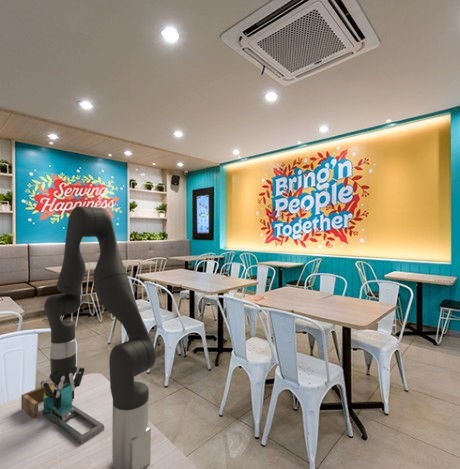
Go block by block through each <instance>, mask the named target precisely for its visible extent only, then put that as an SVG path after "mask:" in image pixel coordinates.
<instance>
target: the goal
mask: <svg viewBox="0 0 460 469" xmlns="http://www.w3.org/2000/svg"><path fill="white" fill-rule="evenodd" d="M53 384H54V383H53V382H52V381H51V385H53ZM49 387H50V386H49ZM43 396H44V390H43V388H42V386H40V387H38V388H35V389H33V390H32V389H31V391H27V392H25V393H23V394H21V397H20V398H21V400H20V401H21V407H20V408H21V410H22V412H24V413H26V414H27V415H28V416H30V417H31V418H32V419H33V420H36V419H38V418H39V404H40V403H42V402H43ZM43 403H44V402H43Z"/></svg>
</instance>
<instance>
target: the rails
mask: <svg viewBox="0 0 460 469" xmlns="http://www.w3.org/2000/svg"><path fill="white" fill-rule="evenodd" d="M72 408H74V409H75V417H77V418H79V419H80V420H82V421H83V422H85V423H86V424H88V425H89V426H91V427H92V428H91V429H89V430H88V431H86V432H85V433H83V434H82V433H81V432H80V431H78V430H77V429H76V428H73V427H72V425H69V424H68V423H67V422H65V421H62V420H61V419H60V418H58V417H57V416H55V415H54V414H53V413H52V411H48V412H46V413H44V409H43V410H42V411H41V412H42V413H41V415H42V416H43V417H44V418H45V419H47V420H49V422H51V423H52V424H53V425H55V426H56V427H58V428H59V429H60V430H62V431H63V432H64V433H66V434H67V435H69V437H71V438H72V439H74V440H75V441H76V442H78V443H79V444H80V445H82V444H84V443H86V442H87V441H89V440H91V439H92V438H93V437H95V436H97V435H98V434H100V433H101V432H103V431H104V430H105V424H103V423H102V422H101V421H98V420H97V419H95V418H94V417H92V416H90V415H89V414H88V413H86V412H84V411H83V410H81V409H79V408H78V407H76V406H75V405H74V404H72Z"/></svg>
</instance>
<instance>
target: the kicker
mask: <svg viewBox="0 0 460 469" xmlns="http://www.w3.org/2000/svg"><path fill="white" fill-rule="evenodd" d="M59 397H60V408H58V409H57V408H56V407H54V406H53V398H52V399H51V398H49V397H47V396H45V397H44V402H43V410H44V413H46V412H48V411H50V412H51V413H53V414H54V415H55V416H57V417H58V418H60V419H61V420H62V421H64V422H65V421H67V420H69V419H71V418H73V417H76V415H75V409H74V408H72V405H73V401H72V385H70V384H68V383H65V384H64V385H63V386H62V389H61V390H60V396H59Z"/></svg>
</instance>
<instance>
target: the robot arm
mask: <svg viewBox="0 0 460 469" xmlns="http://www.w3.org/2000/svg"><path fill="white" fill-rule="evenodd" d="M83 238H96V239H97V241H98V245H99V257H98V260H97V262H96V265H95V268H94V272H93V277H92V281H93V284H94V285H93V286H94V288H95V292H96V295H97V298H98V301H99V303H100V304H101V305H102V306H103V307H104V309H105V310H106V311H107V312H108V313H110V314H111V315H112V316H113V317H115V318H116V319H117V320H118V321H119V323H120V324H121V325H122V326H123V328H124V331H125V332H126V335H127V338H128V340H127V341H124V342H122V343H121V342H120V343H118V344H116V345H115V346H114V347H112V349H111V350H110V354H109V359H108V360H109V364H108V365H109V366H108V367H109V387H110V394H111V398H112V433H111V434H112V438H111V440H112V447H111V452H112V459H111V461H112V463H111V464H112V469H144V468H146V467H147V466H148V465H150V464H151V454H152V452H151V449H152V448H151V446H152V445H151V444H152V436H151V435H152V429H151V427H149V407H150V406H149V404H150V403H149V402H150V401H149V400H150V399H149V398H150V394H149V393H150V391H149V390H150V389H149V387H148V385H147V384H146V383H144V382H142V381H137V380H136V381H135V377H136V376H138V375H140V374H142V373H144V372H146V371H148V370H149V369H151V368H152V367H154V365H155V363H156V359H157V358H156V355H157V354H156V349H155V345H154V343H153V341H152V338H151V336H150V333H149V332H148V329H147V327H146V325H145V322H144V319H143V318H142V315H141V312H140V310H139V308H138V304H137V302H136V299H135V296H134V294H133V290H132V286H131V282H130V280H129V277H128V274H127V271H126V268H125V266H124V263H123V260H122V255H121V253H120V249H119V245H118V242H117V238H116V232H115V227H114V223H113V220H112V217H111V214H110V212H109V211H108V210H107V209H106V208H104V207H97V206H96V207H94V206H83V205H80V206H79V205H78V206H75V207H74V208H72V209H71V211H70V214H69V216H68V220H67V225H66V234H65V241H64V242H65V244H64V255H63V260H62V265H61V268H60V273H59V275H58V279H57V282H56V289H57V290H58V292H60V294H59V293H58V294H54V295H50V296H49V297H47V298H46V300H45V301H44V305H43V307H44V309H43V310H44V312H45V315H46V318H47V320H48V324H49V329H50V350H49V351H50V352H49V358H50V359H49V360H50V362H49V363H50V375H49V376H48V378H47V379H46V380H43V381H40V387H42V388H43V390H44V392H45V394H46V396H47V397H49V398H51V399H52V398H53V406H54V407H56V408H57V409H58V408H60V397H59V396H60V390H61V389H62V386H63V385H64V384H65V383H68V384H70V385H72V402H74V399H75V389H76V388H77V387H80V386H81V382H82V380H83V377H84V373H85V369H86V368H84V367H83V366H78V367H77V342H76V324H75V322H74V321H72V320H62V319H61V316H64V315H70V314H73V313H76V312H77V311H78V310H79V309H80V307H81V306H82V305H81V304H82V299H81V293H82V292H81V291H82V290H81V289H82V288H81V287H82V284H83V280H84V278H85V274H86V267H87V266H86V262H85V260H84V258H83V254H82V252H81V249H80V248H81V242H82V240H83ZM52 382H53V383H54V384H53V392H52V390H51V388H50V387H49V386H51V383H52Z"/></svg>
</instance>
